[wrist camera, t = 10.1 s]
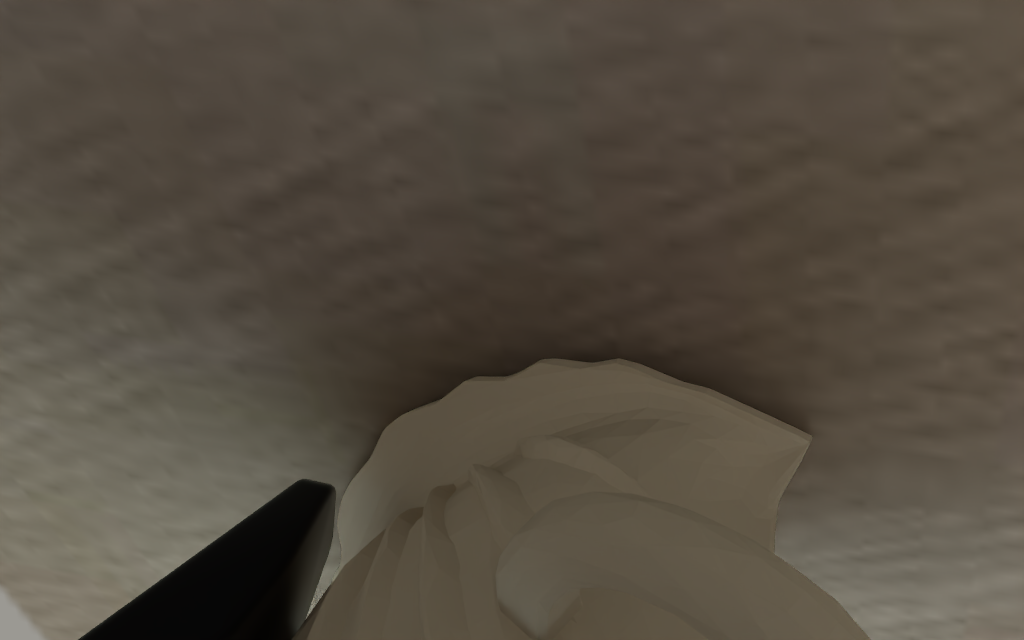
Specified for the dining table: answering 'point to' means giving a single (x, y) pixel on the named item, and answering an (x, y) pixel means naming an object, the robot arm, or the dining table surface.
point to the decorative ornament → (574, 517)
